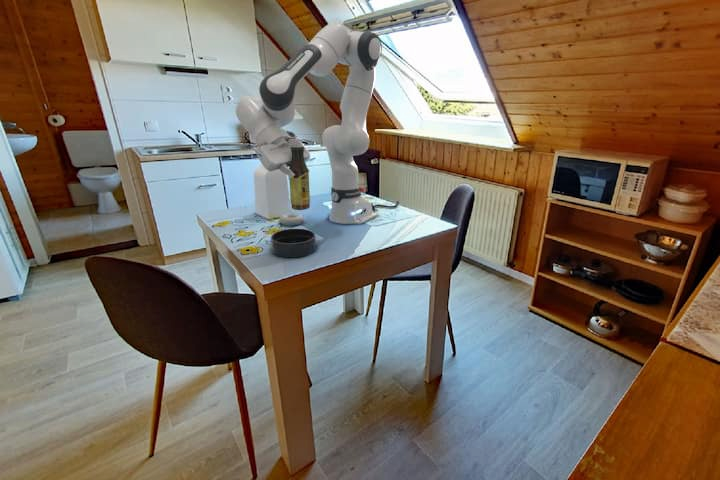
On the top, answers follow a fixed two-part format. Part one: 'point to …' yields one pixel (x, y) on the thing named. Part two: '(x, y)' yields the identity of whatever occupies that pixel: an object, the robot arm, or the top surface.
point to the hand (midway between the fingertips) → (300, 174)
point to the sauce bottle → (299, 180)
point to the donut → (291, 219)
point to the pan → (293, 242)
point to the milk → (271, 193)
